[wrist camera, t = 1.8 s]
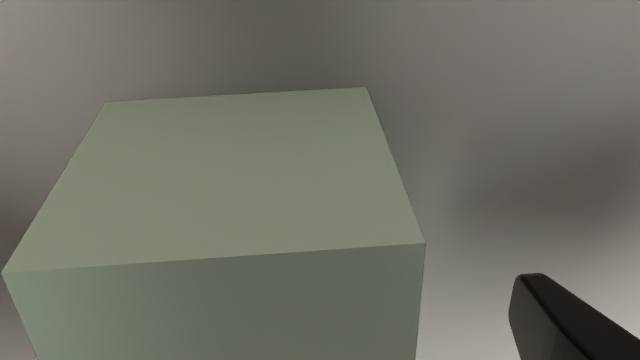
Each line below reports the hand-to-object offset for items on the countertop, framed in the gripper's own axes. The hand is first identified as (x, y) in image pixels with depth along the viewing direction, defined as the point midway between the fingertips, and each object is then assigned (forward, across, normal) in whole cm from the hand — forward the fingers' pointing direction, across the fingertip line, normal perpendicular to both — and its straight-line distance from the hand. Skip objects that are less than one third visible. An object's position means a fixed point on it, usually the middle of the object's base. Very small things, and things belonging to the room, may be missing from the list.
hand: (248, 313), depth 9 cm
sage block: (+4, 0, 0) cm, 4 cm away
